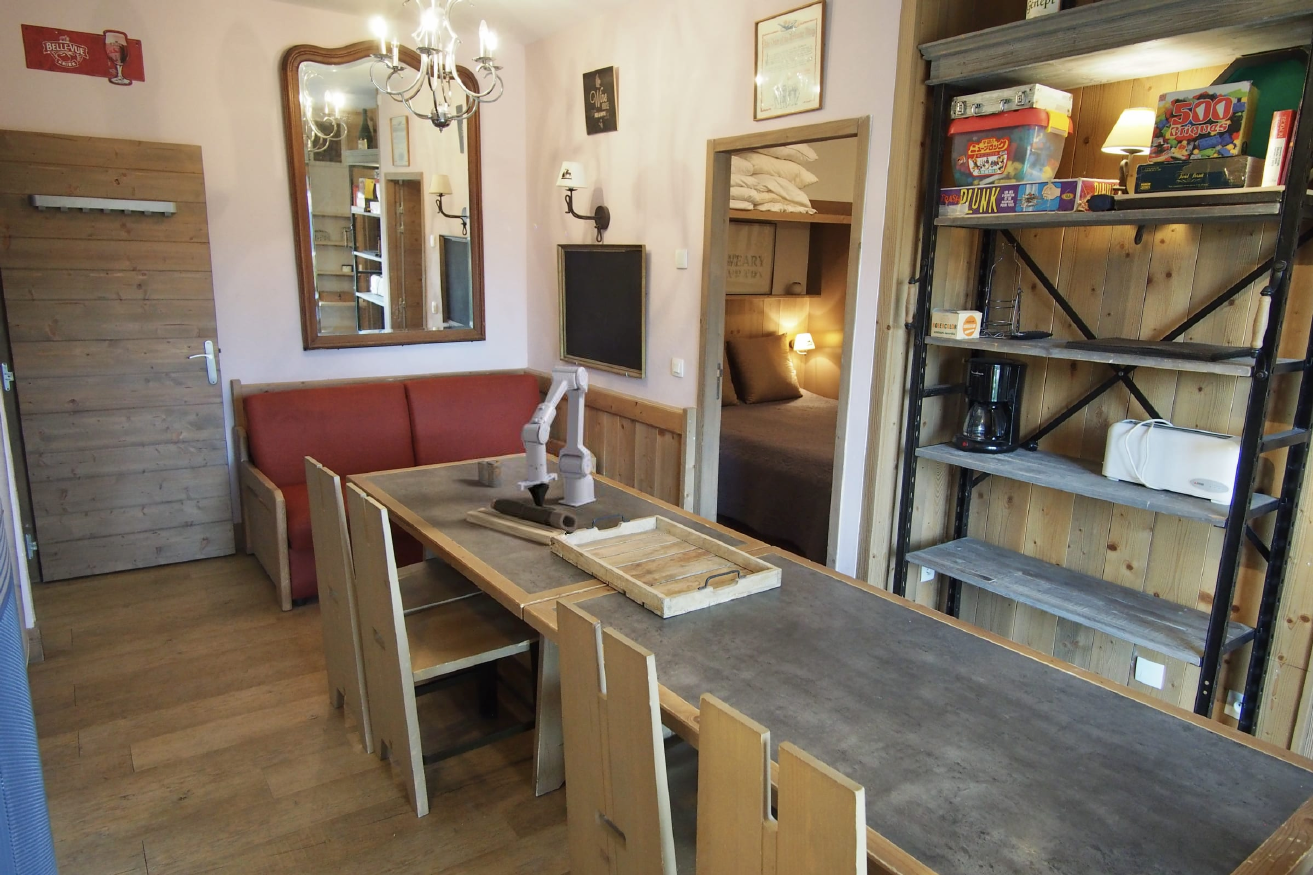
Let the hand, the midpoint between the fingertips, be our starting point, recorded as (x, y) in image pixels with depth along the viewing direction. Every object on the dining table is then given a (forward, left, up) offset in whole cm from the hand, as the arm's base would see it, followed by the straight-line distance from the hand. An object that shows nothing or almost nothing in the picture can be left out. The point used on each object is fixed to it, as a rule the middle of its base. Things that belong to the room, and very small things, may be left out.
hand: (538, 508), depth 240 cm
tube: (0, 0, -3) cm, 3 cm away
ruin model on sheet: (-19, -46, -5) cm, 50 cm away
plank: (+9, 0, -4) cm, 10 cm away
